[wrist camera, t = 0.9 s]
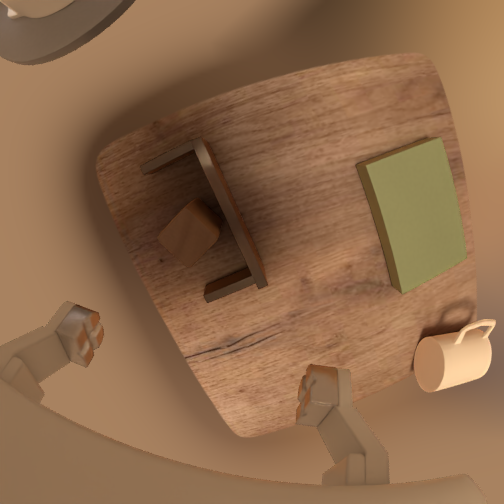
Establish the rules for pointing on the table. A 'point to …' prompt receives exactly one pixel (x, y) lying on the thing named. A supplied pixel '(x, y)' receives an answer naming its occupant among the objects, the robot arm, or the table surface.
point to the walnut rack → (230, 211)
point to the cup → (453, 357)
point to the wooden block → (191, 232)
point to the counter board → (415, 211)
